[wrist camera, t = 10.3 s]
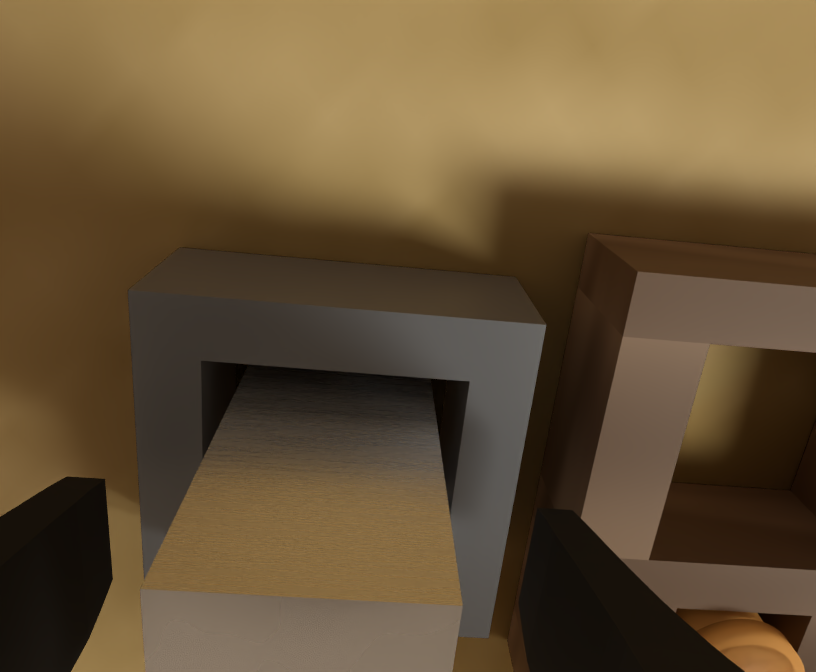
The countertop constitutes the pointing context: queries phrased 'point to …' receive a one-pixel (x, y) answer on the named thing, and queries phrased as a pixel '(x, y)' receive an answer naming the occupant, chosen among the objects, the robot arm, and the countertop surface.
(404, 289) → the grey square frame
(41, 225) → the countertop surface
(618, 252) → the socket block
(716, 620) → the pin
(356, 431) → the steel peg
